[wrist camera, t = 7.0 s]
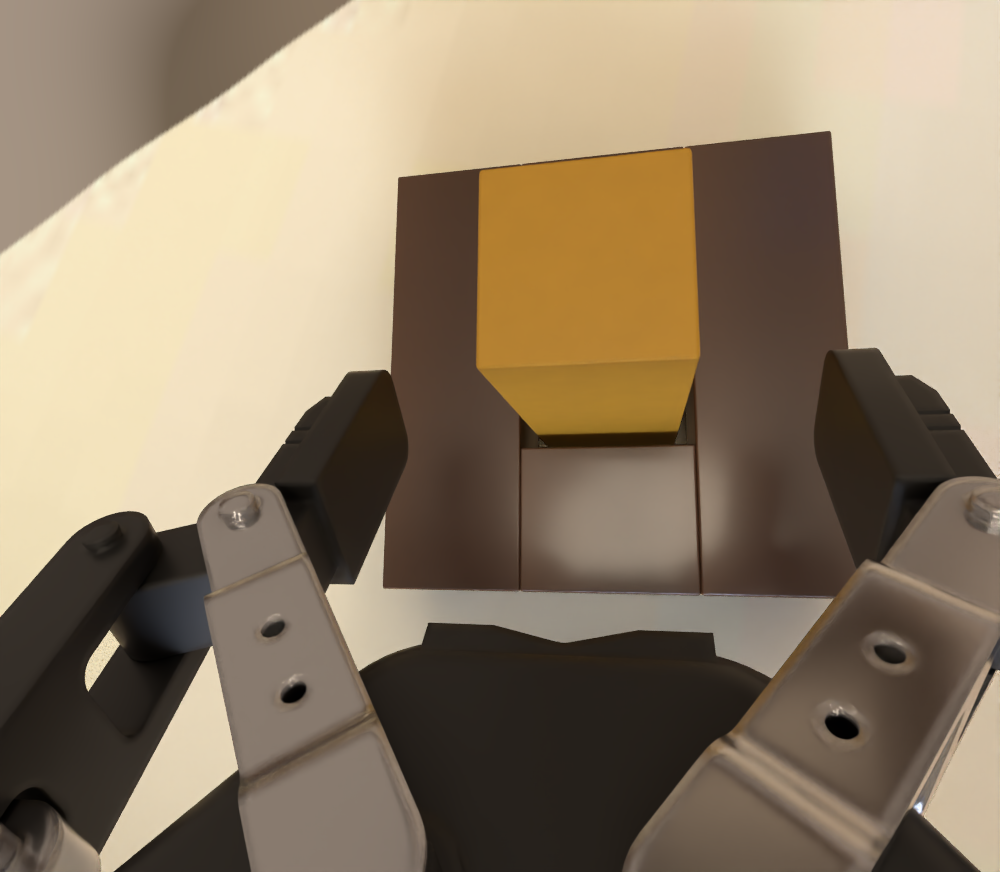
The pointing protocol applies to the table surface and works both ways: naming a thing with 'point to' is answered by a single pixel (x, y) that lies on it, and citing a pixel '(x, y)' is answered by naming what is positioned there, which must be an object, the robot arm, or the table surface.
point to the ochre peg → (590, 296)
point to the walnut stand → (637, 468)
